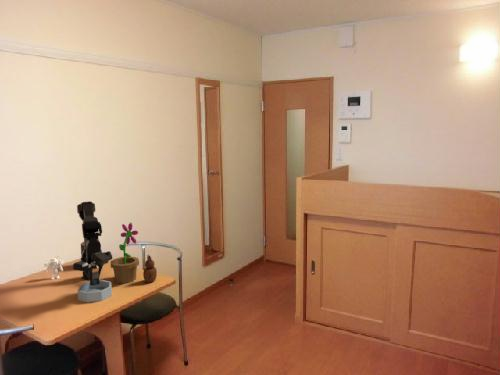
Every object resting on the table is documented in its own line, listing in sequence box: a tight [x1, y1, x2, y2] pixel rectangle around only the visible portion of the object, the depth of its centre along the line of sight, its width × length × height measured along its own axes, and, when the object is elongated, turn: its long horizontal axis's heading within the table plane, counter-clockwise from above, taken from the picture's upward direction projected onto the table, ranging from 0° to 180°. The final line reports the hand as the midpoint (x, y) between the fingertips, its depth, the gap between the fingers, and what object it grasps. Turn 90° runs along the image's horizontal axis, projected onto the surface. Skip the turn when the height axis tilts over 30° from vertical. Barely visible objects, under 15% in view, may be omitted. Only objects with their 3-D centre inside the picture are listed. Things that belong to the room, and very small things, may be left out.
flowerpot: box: [110, 222, 140, 284], centre depth 204 cm, size 14×14×30 cm
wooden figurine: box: [142, 254, 158, 284], centre depth 203 cm, size 7×6×15 cm
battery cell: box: [89, 264, 101, 286], centre depth 186 cm, size 4×4×10 cm
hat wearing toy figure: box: [43, 255, 64, 280], centre depth 208 cm, size 9×4×12 cm, turn 118°
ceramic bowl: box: [77, 279, 113, 303], centre depth 187 cm, size 15×15×4 cm
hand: (94, 278), depth 187 cm, fingers closed on battery cell, 4 cm apart
